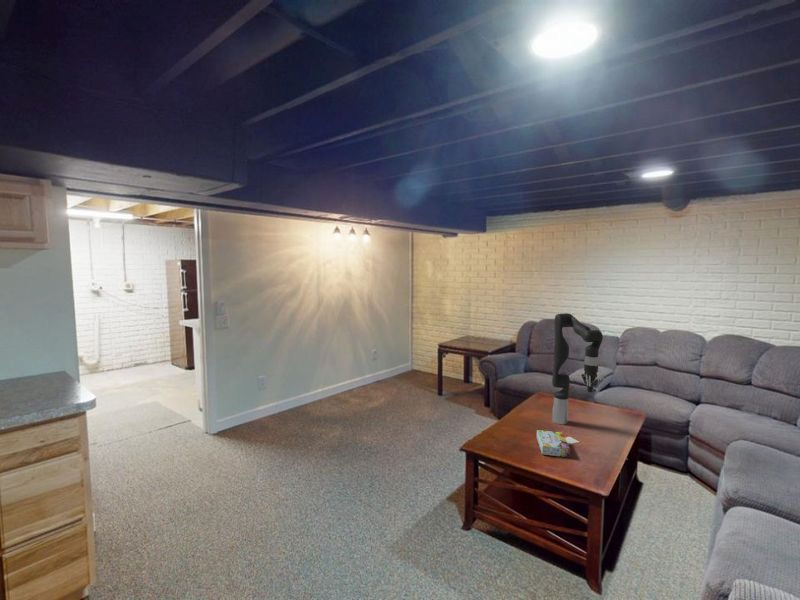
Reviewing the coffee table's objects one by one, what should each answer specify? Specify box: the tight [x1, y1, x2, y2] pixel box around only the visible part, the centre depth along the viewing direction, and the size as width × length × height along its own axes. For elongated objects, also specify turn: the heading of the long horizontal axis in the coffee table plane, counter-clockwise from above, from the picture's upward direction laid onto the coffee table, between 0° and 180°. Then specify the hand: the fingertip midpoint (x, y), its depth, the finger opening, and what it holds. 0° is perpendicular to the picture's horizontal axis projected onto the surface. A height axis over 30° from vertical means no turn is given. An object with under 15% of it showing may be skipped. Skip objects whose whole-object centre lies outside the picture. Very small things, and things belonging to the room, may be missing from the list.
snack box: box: [536, 429, 571, 458], centre depth 232 cm, size 21×6×15 cm
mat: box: [564, 436, 581, 446], centre depth 240 cm, size 8×24×1 cm, turn 110°
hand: (589, 391), depth 237 cm, fingers closed
